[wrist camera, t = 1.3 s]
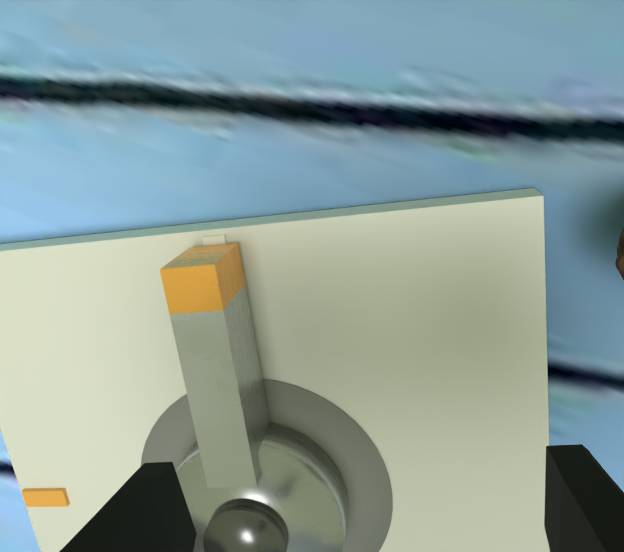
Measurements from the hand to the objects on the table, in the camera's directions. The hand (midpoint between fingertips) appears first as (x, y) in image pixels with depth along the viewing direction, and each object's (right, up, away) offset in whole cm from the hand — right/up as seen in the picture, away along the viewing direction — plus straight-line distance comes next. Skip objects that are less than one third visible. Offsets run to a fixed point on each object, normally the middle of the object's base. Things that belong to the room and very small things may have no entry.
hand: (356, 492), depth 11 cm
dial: (-3, -1, +11) cm, 12 cm away
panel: (-3, -4, +14) cm, 15 cm away
